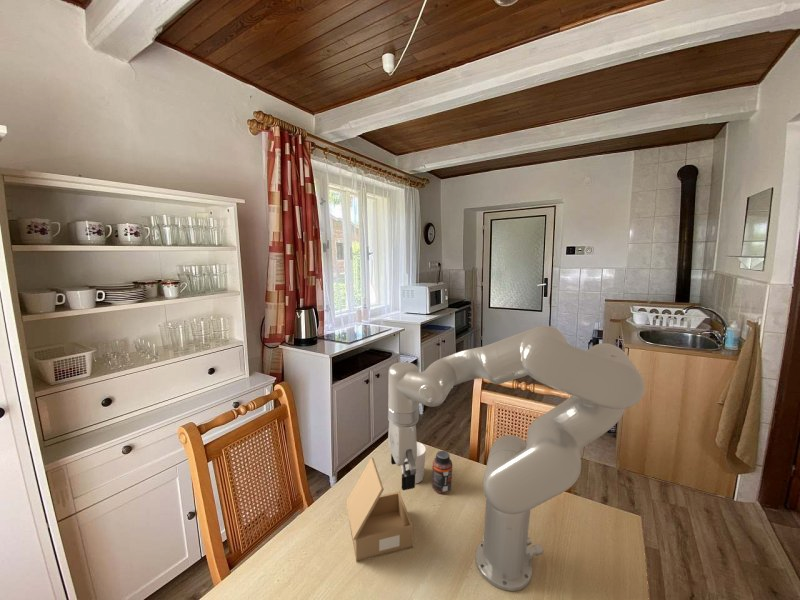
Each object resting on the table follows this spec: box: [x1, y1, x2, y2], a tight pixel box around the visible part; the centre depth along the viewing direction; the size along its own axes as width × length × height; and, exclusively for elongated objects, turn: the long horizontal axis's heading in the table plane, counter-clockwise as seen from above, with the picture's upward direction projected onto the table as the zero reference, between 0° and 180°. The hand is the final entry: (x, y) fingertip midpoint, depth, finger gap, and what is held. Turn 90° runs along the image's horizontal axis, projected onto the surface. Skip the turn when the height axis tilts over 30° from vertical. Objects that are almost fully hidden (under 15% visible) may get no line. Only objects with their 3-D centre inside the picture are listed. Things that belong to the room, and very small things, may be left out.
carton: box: [348, 491, 414, 563], centre depth 87 cm, size 14×12×6 cm
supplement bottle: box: [431, 450, 453, 495], centre depth 103 cm, size 6×6×11 cm
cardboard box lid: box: [346, 457, 385, 540], centre depth 84 cm, size 14×12×1 cm
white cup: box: [400, 441, 427, 485], centre depth 108 cm, size 8×8×10 cm
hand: (402, 475), depth 86 cm, fingers open, 9 cm apart
